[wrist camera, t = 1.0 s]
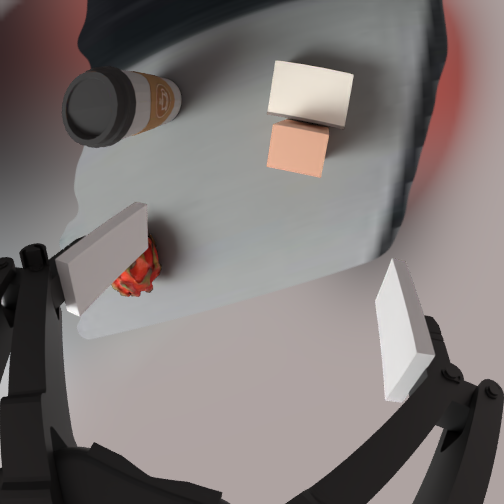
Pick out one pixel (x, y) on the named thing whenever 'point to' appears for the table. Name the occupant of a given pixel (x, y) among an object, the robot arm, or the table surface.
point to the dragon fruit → (139, 273)
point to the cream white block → (310, 94)
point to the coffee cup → (117, 105)
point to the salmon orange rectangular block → (298, 147)
